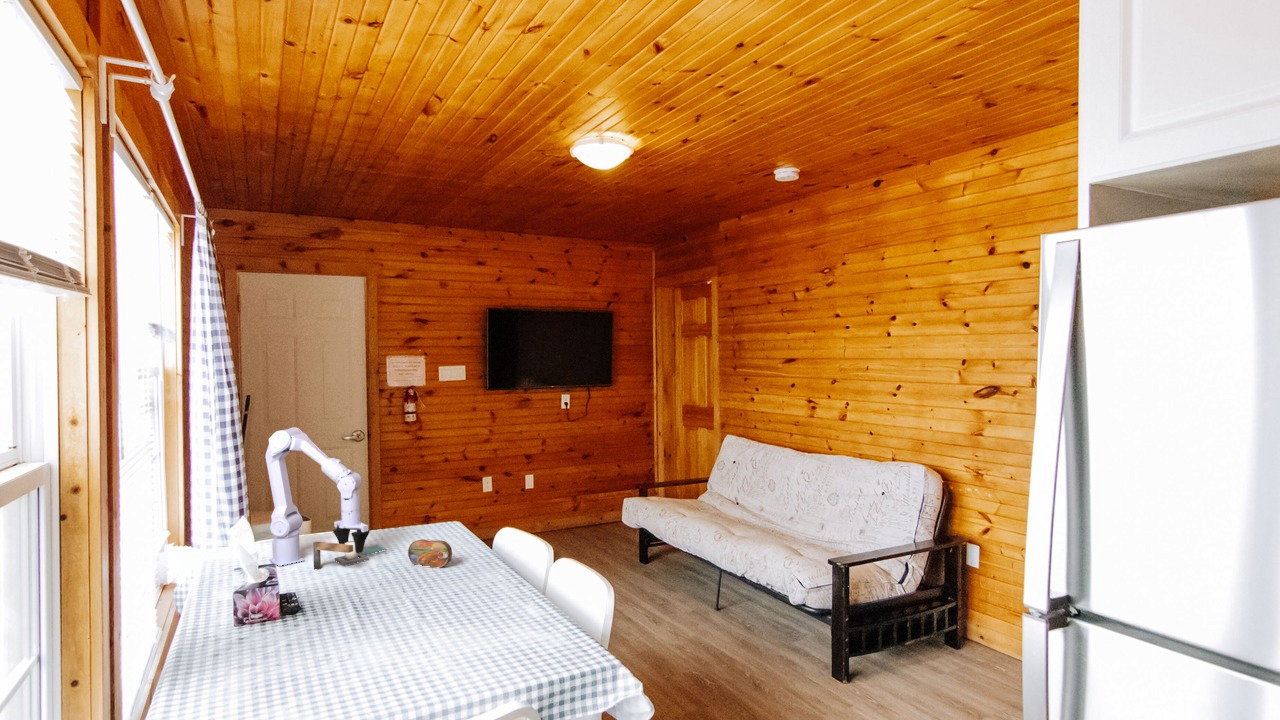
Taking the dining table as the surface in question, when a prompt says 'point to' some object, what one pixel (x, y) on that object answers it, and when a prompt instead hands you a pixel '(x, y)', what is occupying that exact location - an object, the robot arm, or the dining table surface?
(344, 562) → the socket plate
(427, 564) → the tin
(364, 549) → the teal mat
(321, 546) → the retention bar
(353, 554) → the plug
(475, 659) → the dining table surface
